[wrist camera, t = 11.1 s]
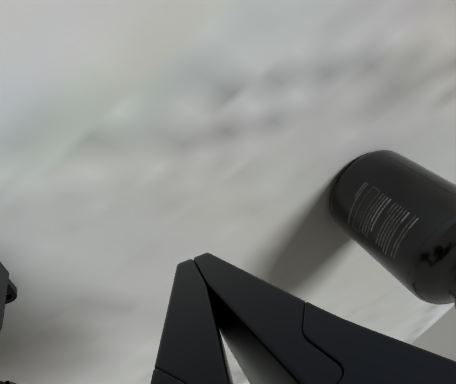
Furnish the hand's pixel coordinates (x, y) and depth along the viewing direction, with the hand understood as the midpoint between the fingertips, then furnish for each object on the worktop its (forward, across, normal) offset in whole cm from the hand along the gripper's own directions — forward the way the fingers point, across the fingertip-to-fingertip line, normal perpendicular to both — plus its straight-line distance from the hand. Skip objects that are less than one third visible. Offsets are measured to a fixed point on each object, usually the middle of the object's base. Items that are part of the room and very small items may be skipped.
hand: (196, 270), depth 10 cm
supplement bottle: (+12, +15, -11) cm, 22 cm away
